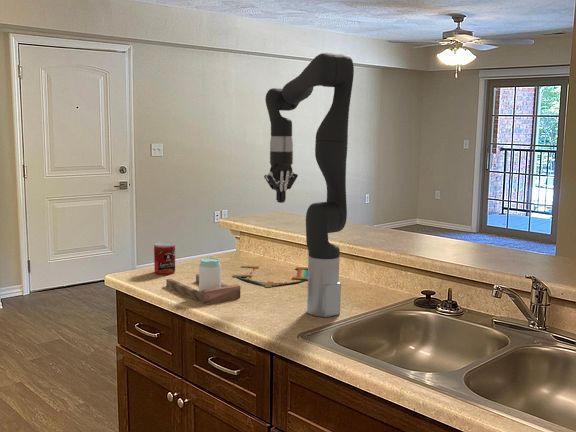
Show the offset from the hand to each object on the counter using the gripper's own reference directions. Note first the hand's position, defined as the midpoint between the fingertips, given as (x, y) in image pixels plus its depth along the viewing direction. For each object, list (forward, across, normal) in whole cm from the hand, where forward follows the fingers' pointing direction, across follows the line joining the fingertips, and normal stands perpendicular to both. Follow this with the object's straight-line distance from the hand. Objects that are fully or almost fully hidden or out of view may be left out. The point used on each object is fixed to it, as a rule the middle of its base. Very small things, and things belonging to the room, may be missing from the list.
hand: (281, 202), depth 206 cm
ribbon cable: (+30, +8, +15) cm, 34 cm away
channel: (+30, -23, +12) cm, 40 cm away
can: (+30, -24, +7) cm, 39 cm away
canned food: (+29, -21, +43) cm, 56 cm away
